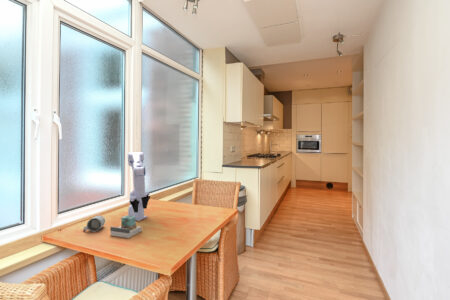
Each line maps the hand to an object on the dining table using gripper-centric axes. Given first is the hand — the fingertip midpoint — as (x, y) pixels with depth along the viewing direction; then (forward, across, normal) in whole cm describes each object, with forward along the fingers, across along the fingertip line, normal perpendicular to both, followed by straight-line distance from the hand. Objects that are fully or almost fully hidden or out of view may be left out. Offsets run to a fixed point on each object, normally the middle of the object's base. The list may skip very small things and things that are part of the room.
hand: (140, 210), depth 136 cm
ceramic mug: (+10, -12, +23) cm, 28 cm away
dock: (+10, -10, +1) cm, 14 cm away
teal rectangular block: (+7, -9, +1) cm, 11 cm away
